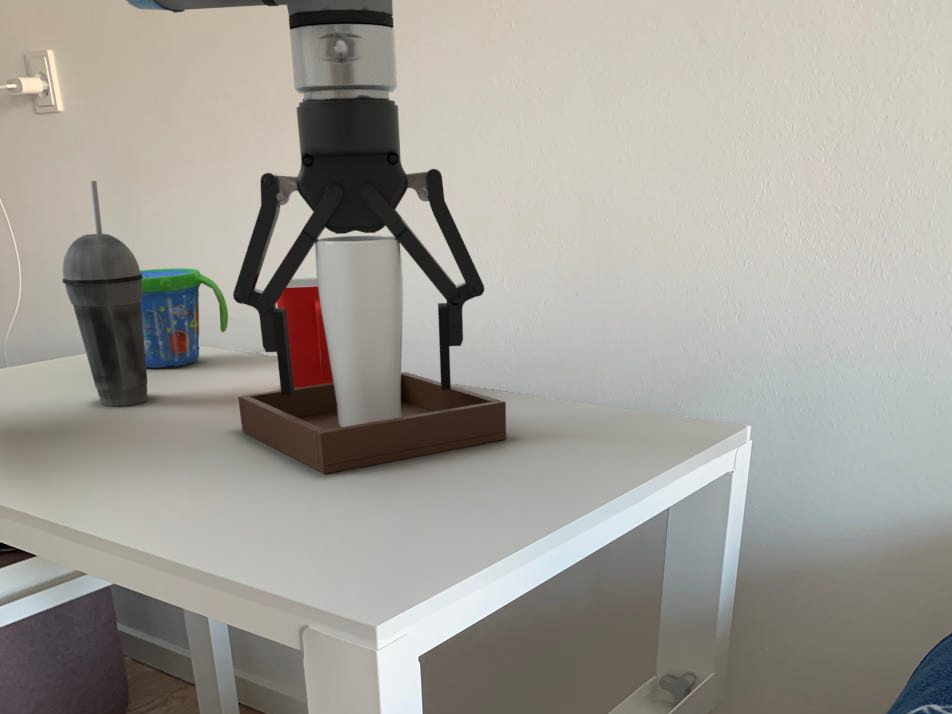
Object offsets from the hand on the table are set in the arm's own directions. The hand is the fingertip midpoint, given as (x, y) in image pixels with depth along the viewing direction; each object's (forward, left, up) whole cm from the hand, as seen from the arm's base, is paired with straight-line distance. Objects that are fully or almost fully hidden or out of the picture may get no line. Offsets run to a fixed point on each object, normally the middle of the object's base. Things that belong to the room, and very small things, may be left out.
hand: (367, 389), depth 84 cm
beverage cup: (-28, -13, -4) cm, 31 cm away
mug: (-17, +4, -4) cm, 18 cm away
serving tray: (0, 0, -4) cm, 4 cm away
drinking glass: (0, 0, -3) cm, 3 cm away
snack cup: (-46, -3, -4) cm, 46 cm away
